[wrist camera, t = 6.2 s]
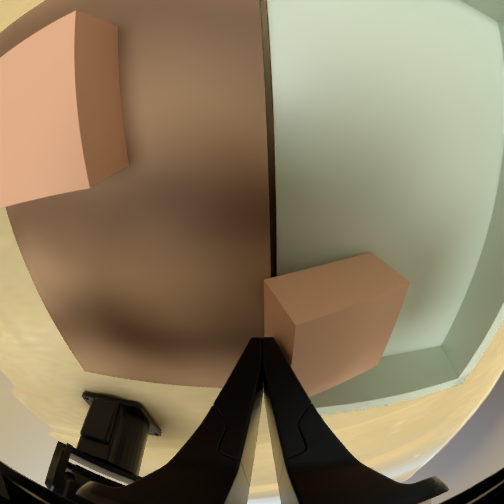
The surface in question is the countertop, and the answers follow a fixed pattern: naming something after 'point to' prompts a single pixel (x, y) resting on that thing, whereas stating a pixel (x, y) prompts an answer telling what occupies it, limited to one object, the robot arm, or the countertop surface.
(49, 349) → the countertop surface
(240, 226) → the walnut board
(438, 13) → the sage tray
